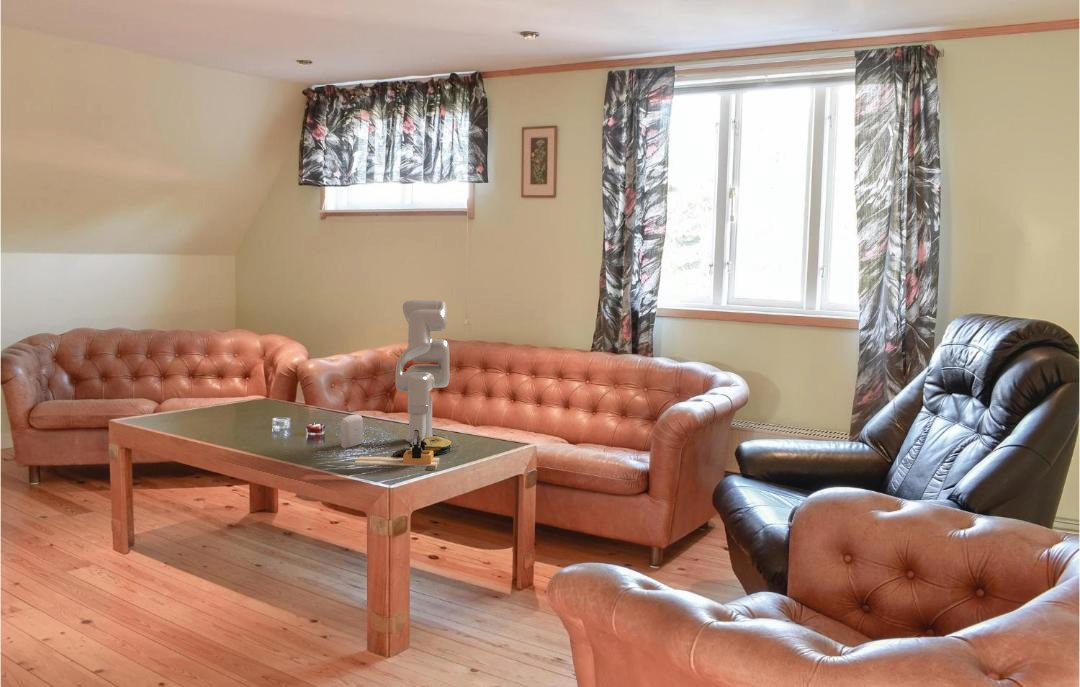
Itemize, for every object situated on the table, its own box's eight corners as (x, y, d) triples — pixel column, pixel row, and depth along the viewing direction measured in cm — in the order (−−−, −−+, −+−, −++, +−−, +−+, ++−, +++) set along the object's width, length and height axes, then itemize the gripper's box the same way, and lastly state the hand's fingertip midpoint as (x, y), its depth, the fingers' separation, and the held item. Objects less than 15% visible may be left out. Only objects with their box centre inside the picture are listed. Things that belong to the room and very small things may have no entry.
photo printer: (347, 448, 349) (347, 417, 348) (339, 447, 351) (339, 416, 350) (364, 443, 358) (364, 413, 357) (356, 442, 360) (356, 412, 359)
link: (406, 458, 328) (406, 450, 328) (433, 459, 328) (433, 450, 328) (403, 463, 321) (403, 454, 321) (430, 463, 321) (430, 455, 321)
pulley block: (382, 440, 334) (437, 429, 358) (380, 455, 335) (436, 442, 359) (407, 452, 326) (463, 439, 349) (406, 466, 327) (461, 453, 350)
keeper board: (359, 460, 331) (359, 442, 330) (439, 461, 331) (439, 443, 330) (352, 468, 319) (352, 449, 318) (435, 469, 319) (435, 450, 318)
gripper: (411, 404, 331) (411, 449, 333) (404, 413, 314) (404, 460, 316) (431, 405, 331) (431, 449, 333) (425, 413, 314) (425, 460, 316)
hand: (418, 454), depth 324 cm, fingers open, 9 cm apart
